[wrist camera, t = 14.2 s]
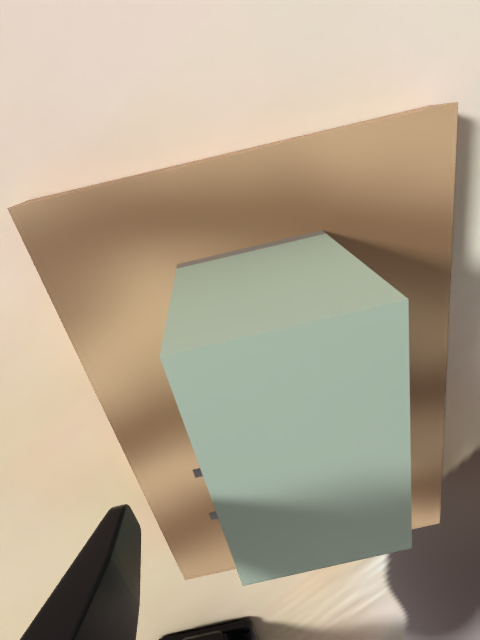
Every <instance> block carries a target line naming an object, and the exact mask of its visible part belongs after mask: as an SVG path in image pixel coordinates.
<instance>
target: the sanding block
mask: <svg viewBox="0 0 480 640" xmlns="http://www.w3.org/2000/svg"><path fill="white" fill-rule="evenodd" d="M160 359H161V362H162V365H163V367H164V370H165V373H166V376H167V378H168V381H169V384H170V387H171V389H172V392H173V395H174V398H175V400H176V403H177V406H178V409H179V412H180V414H181V417H182V420H183V423H184V425H185V428H186V431H187V434H188V436H189V439H190V442H191V445H192V447H193V450H194V453H195V456H196V458H197V461H198V464H199V467H200V469H201V472H202V475H203V478H204V480H205V483H206V486H207V489H208V491H209V494H210V497H211V500H212V502H213V505H214V508H215V511H216V513H217V516H218V519H219V522H220V524H221V527H222V530H223V533H224V535H225V538H226V541H227V544H228V546H229V549H230V552H231V555H232V557H233V560H234V563H235V566H236V568H237V571H238V574H239V577H240V579H241V582H242V585H243V586H245V585H249V584H254V583H258V582H263V581H267V580H271V579H276V578H280V577H285V576H289V575H294V574H298V573H303V572H307V571H312V570H316V569H321V568H325V567H330V566H334V565H338V564H343V563H347V562H352V561H356V560H361V559H365V558H370V557H374V556H379V555H383V554H388V553H392V552H397V551H401V550H405V549H409V548H412V513H411V443H410V373H409V304H408V298H406V297H405V296H404V295H403V294H401V293H400V292H399V291H398V290H396V289H395V288H394V287H393V286H391V285H390V284H389V283H388V282H386V281H385V280H384V279H383V278H381V277H380V276H379V275H378V274H376V273H375V272H374V271H373V270H371V269H370V268H369V267H367V266H366V265H365V264H364V263H362V262H361V261H360V260H359V259H357V258H356V257H355V256H354V255H352V254H351V253H350V252H349V251H347V250H346V249H345V248H344V247H342V246H341V245H340V244H339V243H337V242H336V241H335V240H334V239H332V238H331V237H330V236H329V235H327V234H326V233H325V232H324V231H322V230H320V231H316V232H312V233H308V234H303V235H299V236H295V237H291V238H286V239H282V240H278V241H274V242H269V243H265V244H261V245H257V246H252V247H248V248H244V249H240V250H235V251H231V252H227V253H222V254H218V255H214V256H210V257H205V258H201V259H197V260H193V261H188V262H184V263H180V264H177V267H176V273H175V278H174V283H173V289H172V294H171V299H170V304H169V310H168V315H167V320H166V326H165V331H164V336H163V342H162V347H161V352H160Z"/></svg>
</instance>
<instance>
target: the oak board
mask: <svg viewBox="0 0 480 640" xmlns="http://www.w3.org/2000/svg"><path fill="white" fill-rule="evenodd" d="M457 119H458V102H456V103H447V104H438V105H431V106H426V107H422V108H418V109H414V110H409V111H405V112H401V113H397V114H393V115H388V116H384V117H380V118H376V119H371V120H367V121H363V122H359V123H354V124H350V125H346V126H342V127H337V128H333V129H329V130H325V131H320V132H316V133H312V134H308V135H304V136H299V137H295V138H291V139H287V140H282V141H278V142H274V143H270V144H265V145H261V146H257V147H253V148H248V149H244V150H240V151H236V152H231V153H227V154H223V155H219V156H215V157H210V158H206V159H202V160H198V161H193V162H189V163H185V164H181V165H176V166H172V167H168V168H164V169H159V170H155V171H151V172H147V173H142V174H138V175H134V176H130V177H126V178H121V179H117V180H113V181H109V182H104V183H100V184H96V185H92V186H87V187H83V188H79V189H75V190H70V191H66V192H62V193H58V194H53V195H49V196H45V197H41V198H37V199H32V200H28V201H25V202H23V203H20V204H18V205H15V206H13V207H10V208H8V210H9V213H10V215H11V217H12V219H13V221H14V223H15V225H16V227H17V229H18V231H19V233H20V236H21V238H22V240H23V242H24V244H25V246H26V248H27V250H28V252H29V254H30V256H31V259H32V261H33V263H34V265H35V267H36V269H37V271H38V273H39V275H40V277H41V280H42V282H43V284H44V286H45V288H46V290H47V292H48V294H49V296H50V298H51V300H52V303H53V305H54V307H55V309H56V311H57V313H58V315H59V317H60V319H61V321H62V323H63V326H64V328H65V330H66V332H67V334H68V336H69V338H70V340H71V342H72V344H73V347H74V349H75V351H76V353H77V355H78V357H79V359H80V361H81V363H82V365H83V367H84V370H85V372H86V374H87V376H88V378H89V380H90V382H91V384H92V386H93V388H94V390H95V393H96V395H97V397H98V399H99V401H100V403H101V405H102V407H103V409H104V411H105V414H106V416H107V418H108V420H109V422H110V424H111V426H112V428H113V430H114V432H115V434H116V437H117V439H118V441H119V443H120V445H121V447H122V449H123V451H124V453H125V455H126V457H127V460H128V462H129V464H130V466H131V468H132V470H133V472H134V474H135V476H136V478H137V480H138V483H139V485H140V487H141V489H142V491H143V493H144V495H145V497H146V499H147V501H148V504H149V506H150V508H151V510H152V512H153V514H154V516H155V518H156V520H157V522H158V524H159V527H160V529H161V531H162V533H163V535H164V537H165V539H166V541H167V543H168V545H169V547H170V550H171V552H172V554H173V556H174V558H175V560H176V562H177V564H178V566H179V568H180V571H181V573H182V575H183V577H184V579H185V580H187V579H192V578H196V577H201V576H205V575H210V574H214V573H219V572H223V571H227V570H232V569H236V566H235V563H234V560H233V557H232V555H231V552H230V549H229V546H228V544H227V541H226V538H225V535H224V533H223V530H222V527H221V524H220V522H219V519H218V516H217V513H216V511H215V508H214V505H213V502H212V500H211V497H210V494H209V491H208V489H207V486H206V483H205V480H204V478H203V475H202V472H201V469H200V467H199V464H198V461H197V458H196V456H195V453H194V450H193V447H192V445H191V442H190V439H189V436H188V434H187V431H186V428H185V425H184V423H183V420H182V417H181V414H180V412H179V409H178V406H177V403H176V400H175V398H174V395H173V392H172V389H171V387H170V384H169V381H168V378H167V376H166V373H165V370H164V367H163V365H162V362H161V359H160V352H161V347H162V342H163V336H164V331H165V326H166V320H167V315H168V310H169V304H170V299H171V294H172V289H173V283H174V278H175V273H176V267H177V264H180V263H184V262H188V261H193V260H197V259H201V258H205V257H210V256H214V255H218V254H222V253H227V252H231V251H235V250H240V249H244V248H248V247H252V246H257V245H261V244H265V243H269V242H274V241H278V240H282V239H286V238H291V237H295V236H299V235H303V234H308V233H312V232H316V231H320V230H322V231H324V232H325V233H326V234H327V235H329V236H330V237H331V238H332V239H334V240H335V241H336V242H337V243H339V244H340V245H341V246H342V247H344V248H345V249H346V250H347V251H349V252H350V253H351V254H352V255H354V256H355V257H356V258H357V259H359V260H360V261H361V262H362V263H364V264H365V265H366V266H367V267H369V268H370V269H371V270H373V271H374V272H375V273H376V274H378V275H379V276H380V277H381V278H383V279H384V280H385V281H386V282H388V283H389V284H390V285H391V286H393V287H394V288H395V289H396V290H398V291H399V292H400V293H401V294H403V295H404V296H405V297H406V298H408V304H409V373H410V443H411V513H412V529H415V528H420V527H424V526H429V525H433V524H438V523H440V507H441V506H440V505H441V484H442V461H443V439H444V416H445V393H446V370H447V347H448V325H449V302H450V279H451V256H452V233H453V210H454V188H455V165H456V142H457Z"/></svg>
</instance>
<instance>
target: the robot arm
mask: <svg viewBox="0 0 480 640" xmlns="http://www.w3.org/2000/svg"><path fill="white" fill-rule="evenodd" d="M140 567H141V529H140V525H139V523H138V521H137V519H136V517H135V515H134V513H133V511H132V509H131V508H130V506H129V505H127V504H125V505H120V506H116V507H112V508H111V509H110V510H109V511H108V512H107V514H106V515H105V517H104V518H103V519H102V521H101V522H100V524H99V525H98V527H97V528H96V530H95V531H94V533H93V534H92V535H91V537H90V538H89V540H88V541H87V543H86V544H85V546H84V547H83V549H82V550H81V551H80V553H79V554H78V556H77V557H76V559H75V560H74V562H73V563H72V565H71V566H70V567H69V569H68V570H67V572H66V573H65V575H64V576H63V578H62V579H61V581H60V582H59V584H58V585H57V586H56V588H55V589H54V591H53V592H52V594H51V595H50V597H49V598H48V600H47V601H46V602H45V604H44V605H43V607H42V608H41V610H40V611H39V613H38V614H37V616H36V617H35V618H34V620H33V621H32V623H31V624H30V626H29V627H28V629H27V630H26V632H25V633H24V634H23V636H22V637H21V639H20V640H136V632H137V624H138V615H139V604H140ZM159 640H259V639H258V637H257V634H256V631H255V629H254V626H253V623H252V622H251V621H250V620H242V621H237V622H233V623H228V624H224V625H219V626H215V627H210V628H206V629H201V630H197V631H192V632H188V633H183V634H179V635H174V636H170V637H165V638H161V639H159Z"/></svg>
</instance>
